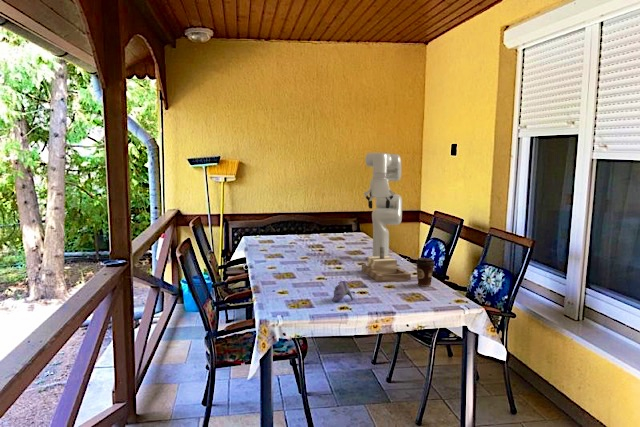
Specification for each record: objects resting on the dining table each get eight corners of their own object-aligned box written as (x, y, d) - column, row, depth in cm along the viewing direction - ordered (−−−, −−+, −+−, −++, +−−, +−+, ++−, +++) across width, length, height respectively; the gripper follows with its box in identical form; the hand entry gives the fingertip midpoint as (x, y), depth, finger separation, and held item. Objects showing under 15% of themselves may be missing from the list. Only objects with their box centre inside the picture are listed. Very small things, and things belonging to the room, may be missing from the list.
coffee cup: (419, 287, 231) (420, 261, 229) (412, 283, 239) (412, 257, 237) (436, 286, 233) (437, 260, 232) (428, 282, 241) (429, 256, 240)
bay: (361, 270, 266) (361, 264, 266) (390, 269, 270) (390, 263, 270) (378, 282, 241) (378, 275, 240) (410, 280, 245) (410, 274, 245)
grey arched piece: (356, 283, 213) (337, 274, 210) (359, 295, 205) (339, 287, 202) (345, 297, 217) (326, 289, 214) (347, 310, 209) (327, 302, 206)
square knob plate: (367, 269, 264) (367, 245, 263) (387, 268, 267) (388, 245, 266) (375, 274, 253) (375, 249, 251) (396, 273, 256) (397, 248, 254)
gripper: (392, 176, 266) (391, 207, 268) (362, 176, 262) (361, 207, 264) (397, 176, 259) (396, 208, 261) (366, 176, 255) (366, 209, 257)
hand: (379, 208), depth 262 cm, fingers open, 9 cm apart
